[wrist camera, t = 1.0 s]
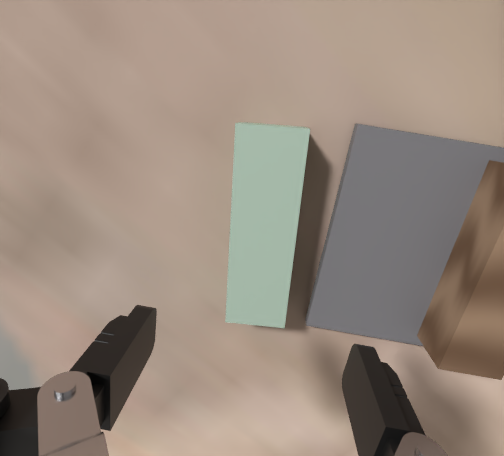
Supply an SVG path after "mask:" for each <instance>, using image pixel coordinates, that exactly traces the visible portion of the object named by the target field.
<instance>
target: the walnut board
mask: <svg viewBox="0 0 504 456" xmlns="http://www.w3.org/2000/svg"><path fill="white" fill-rule="evenodd" d="M417 336H418V338H419V339H420V341H421V343H422V344H423V346H424V347H425V349H426V350H427V352H428V354H429V355H430V357H431V358H432V360H433V361H434V363H435V365H436V366H437V368H438V369H443V370H448V371H454V372H460V373H465V374H471V375H476V376H482V377H488V378H493V379H499V380H501V379H502V378H503V376H504V162H498V161H492V160H489V162H488V164H487V166H486V169H485V171H484V174H483V176H482V179H481V181H480V183H479V186H478V188H477V191H476V193H475V196H474V198H473V201H472V203H471V205H470V208H469V210H468V213H467V215H466V218H465V220H464V222H463V225H462V227H461V230H460V232H459V235H458V237H457V239H456V242H455V244H454V247H453V249H452V252H451V254H450V256H449V259H448V261H447V264H446V266H445V269H444V271H443V273H442V276H441V278H440V281H439V283H438V286H437V288H436V291H435V293H434V295H433V298H432V300H431V303H430V305H429V308H428V310H427V312H426V315H425V317H424V320H423V322H422V325H421V327H420V329H419V332H418V334H417Z"/></svg>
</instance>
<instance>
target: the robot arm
mask: <svg viewBox="0 0 504 456" xmlns="http://www.w3.org/2000/svg"><path fill="white" fill-rule="evenodd" d="M155 330H156V308H152V307H146V306H141V305H137V306H135V308H134V309H133V310H132V312H131V313H130V314H129V316H128V317H127V316H122V315H120V316H119V317H117V318H115V319H114V320H112V321H110V322H109V323H108V324H107V325H106V327H105V328H104V329H103V330H102V332H101V334H99V335H98V336H97V338H96V339H95V341H94V342H93V343H92V344H91V345H90V346H89V347H88V349H87V350H86V351H85V352H84V354H83V355H82V356H81V357H80V358H79V360H78V361H77V362H76V363H75V365H74V366H73V367H72V368H71V369H70V371H69V372H64V373H61V374H58V375H56V376H54V377H52V378H50V379H49V380H48V381H46V382H45V383H44V384H43V385H42V387H38V388H29V389H19V390H9V389H8V384H7V382H6V381H5V380H3V379H1V378H0V456H109V454H108V449H107V444H106V440H105V436H104V433H103V432H101V430H100V429H104V430H109V431H111V429H112V427H113V425H114V423H115V421H116V419H117V417H118V415H119V414H120V412H121V410H122V408H123V406H124V404H125V402H126V400H127V398H128V397H129V395H130V393H131V391H132V389H133V387H134V385H135V383H136V382H137V380H138V378H139V376H140V374H141V372H142V370H143V368H144V366H145V365H146V363H147V361H148V359H149V357H150V355H151V353H152V350H153V347H154V342H155ZM342 389H343V393H344V398H345V402H346V406H347V410H348V414H349V418H350V422H351V427H352V431H353V435H354V439H355V443H356V447H357V451H358V455H359V456H448V455H447V454H446V452H445V451H444V450H443V449H442V448H441V447H440V446H439V445H438V444H437V443H436V442H435V441H433V440H432V439H430V438H429V437H427V436H426V435H425V433H424V431H423V429H422V427H421V425H420V423H419V420H418V418H417V416H416V414H415V412H414V410H413V408H412V405H411V403H410V401H409V399H407V395H406V393H405V391H404V389H403V388H402V384H401V382H400V380H399V378H398V376H397V374H396V373H395V372H394V371H393V369H392V368H391V367H390V366H389V365H388V364H387V363H383V362H381V361H380V359H379V357H378V354H377V352H376V350H375V348H374V347H370V346H364V345H358V344H354V345H353V346H352V348H351V351H350V354H349V357H348V360H347V363H346V366H345V369H344V373H343V378H342Z"/></svg>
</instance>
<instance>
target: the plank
mask: <svg viewBox="0 0 504 456" xmlns="http://www.w3.org/2000/svg"><path fill="white" fill-rule="evenodd" d="M309 134H310V129H309V128H307V127H299V126H287V125H274V124H261V123H248V122H239V123H236V124H235V144H234V164H233V183H232V203H231V223H230V242H229V262H228V282H227V301H226V321H225V322H230V323H240V324H249V325H258V326H268V327H277V328H285V321H286V313H287V305H288V297H289V290H290V282H291V274H292V266H293V259H294V251H295V243H296V235H297V228H298V220H299V212H300V204H301V197H302V189H303V181H304V173H305V165H306V158H307V150H308V142H309Z"/></svg>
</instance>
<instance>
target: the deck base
mask: <svg viewBox="0 0 504 456" xmlns="http://www.w3.org/2000/svg"><path fill="white" fill-rule="evenodd" d="M489 160H492V161H498V162H504V148H502V147H496V146H490V145H484V144H478V143H472V142H465V141H459V140H453V139H447V138H441V137H435V136H429V135H423V134H417V133H410V132H404V131H398V130H392V129H386V128H380V127H374V126H368V125H362V124H355V126H354V130H353V134H352V138H351V142H350V146H349V150H348V154H347V158H346V162H345V166H344V169H343V173H342V177H341V181H340V185H339V189H338V193H337V197H336V201H335V205H334V209H333V213H332V217H331V221H330V224H329V228H328V232H327V236H326V240H325V244H324V248H323V252H322V256H321V260H320V264H319V268H318V272H317V276H316V279H315V283H314V287H313V291H312V295H311V299H310V303H309V307H308V311H307V315H306V326H312V327H318V328H323V329H329V330H335V331H341V332H346V333H352V334H358V335H363V336H369V337H375V338H380V339H386V340H392V341H397V342H403V343H409V344H414V345H420V346H423V344H422V343H421V341H420V339H419V338H418V336H417V334H418V332H419V329H420V327H421V325H422V322H423V320H424V317H425V315H426V312H427V310H428V308H429V305H430V303H431V300H432V298H433V295H434V293H435V291H436V288H437V286H438V283H439V281H440V278H441V276H442V273H443V271H444V269H445V266H446V264H447V261H448V259H449V256H450V254H451V252H452V249H453V247H454V244H455V242H456V239H457V237H458V235H459V232H460V230H461V227H462V225H463V222H464V220H465V218H466V215H467V213H468V210H469V208H470V205H471V203H472V201H473V198H474V196H475V193H476V191H477V188H478V186H479V183H480V181H481V179H482V176H483V174H484V171H485V169H486V166H487V164H488V162H489Z"/></svg>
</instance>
